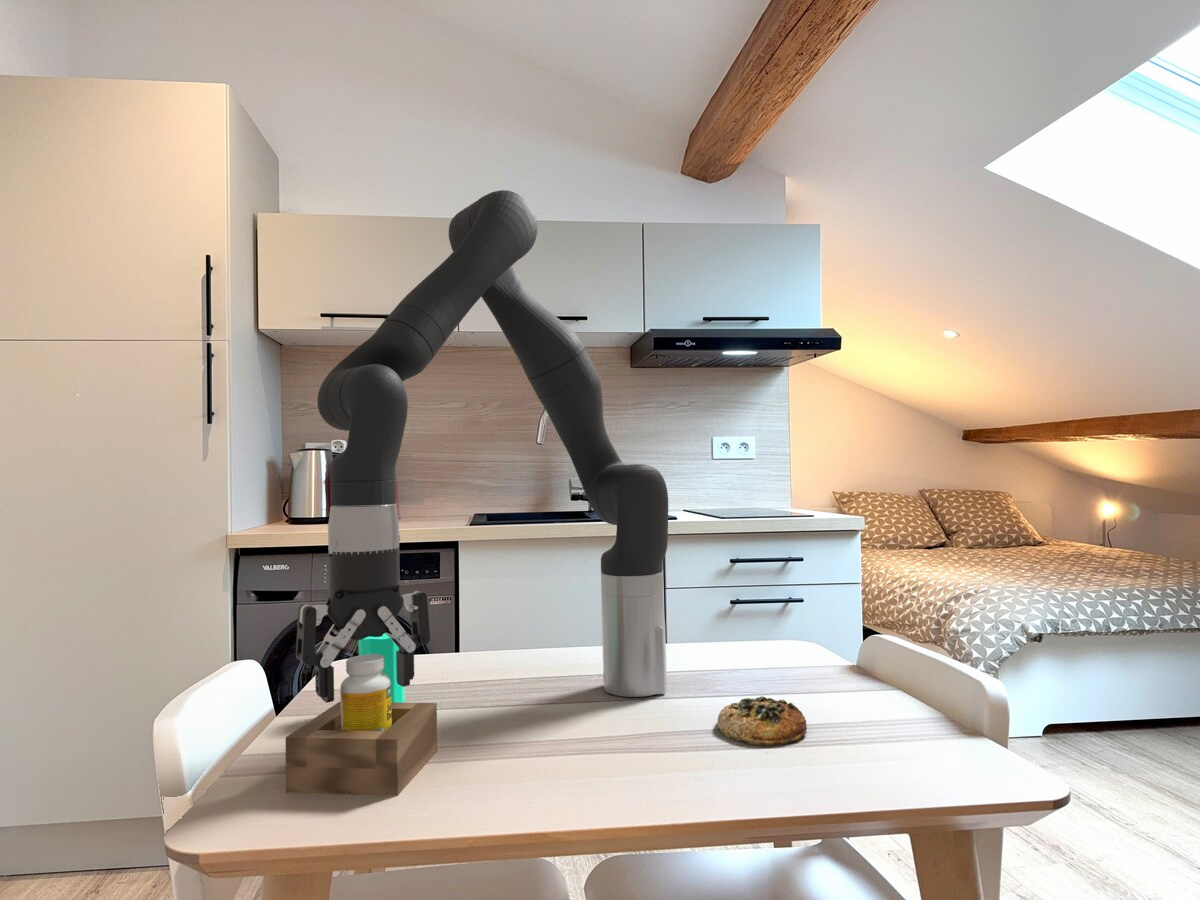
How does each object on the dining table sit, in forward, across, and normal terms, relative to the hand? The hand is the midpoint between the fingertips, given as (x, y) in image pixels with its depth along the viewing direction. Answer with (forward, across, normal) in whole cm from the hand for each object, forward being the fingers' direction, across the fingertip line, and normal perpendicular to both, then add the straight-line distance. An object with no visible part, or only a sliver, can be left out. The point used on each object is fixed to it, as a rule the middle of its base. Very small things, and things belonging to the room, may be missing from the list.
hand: (366, 692), depth 83 cm
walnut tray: (+9, 0, 0) cm, 9 cm away
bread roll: (+9, -42, +20) cm, 47 cm away
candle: (+9, -9, -19) cm, 23 cm away
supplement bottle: (+6, 0, 0) cm, 6 cm away
